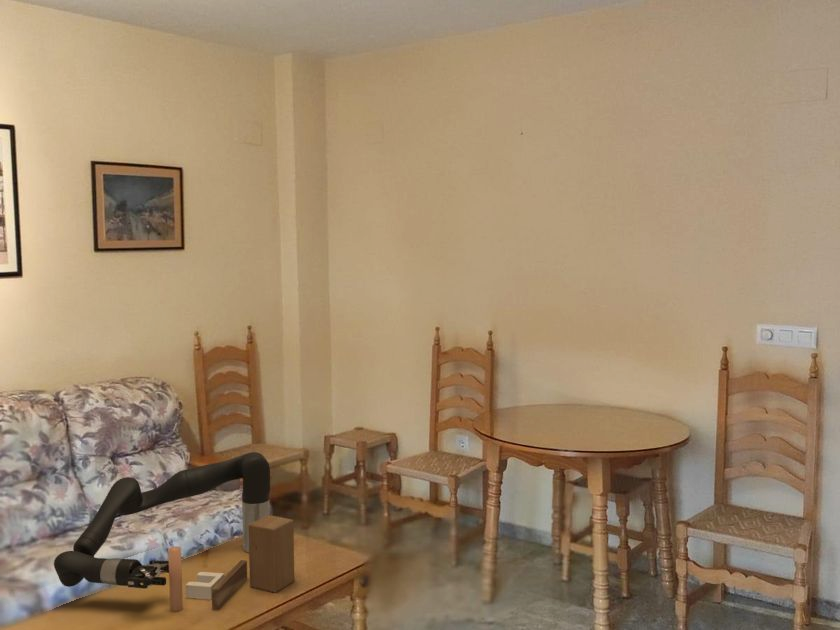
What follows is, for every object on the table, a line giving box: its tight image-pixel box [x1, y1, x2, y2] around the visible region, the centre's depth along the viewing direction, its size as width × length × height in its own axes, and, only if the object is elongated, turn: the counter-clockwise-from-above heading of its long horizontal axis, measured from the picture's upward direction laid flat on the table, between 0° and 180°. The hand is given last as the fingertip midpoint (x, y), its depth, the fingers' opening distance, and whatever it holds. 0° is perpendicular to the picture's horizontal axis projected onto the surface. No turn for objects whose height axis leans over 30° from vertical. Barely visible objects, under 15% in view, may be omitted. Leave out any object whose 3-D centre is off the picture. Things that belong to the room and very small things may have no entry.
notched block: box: [185, 571, 225, 601], centre depth 250 cm, size 8×10×4 cm
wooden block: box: [248, 514, 295, 593], centre depth 254 cm, size 10×10×20 cm
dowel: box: [167, 546, 184, 613], centre depth 237 cm, size 4×4×18 cm
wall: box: [211, 559, 248, 611], centre depth 248 cm, size 2×22×6 cm, turn 170°
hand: (172, 575), depth 237 cm, fingers open, 8 cm apart
